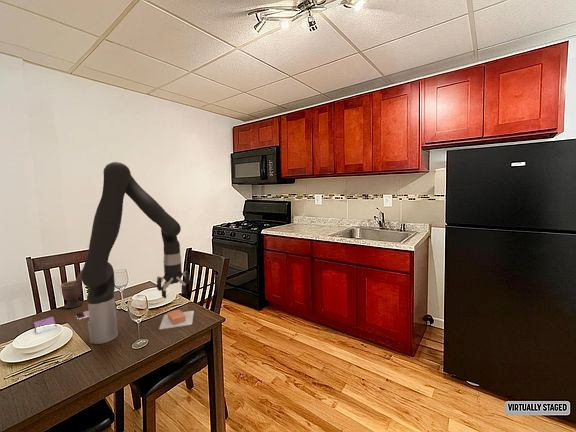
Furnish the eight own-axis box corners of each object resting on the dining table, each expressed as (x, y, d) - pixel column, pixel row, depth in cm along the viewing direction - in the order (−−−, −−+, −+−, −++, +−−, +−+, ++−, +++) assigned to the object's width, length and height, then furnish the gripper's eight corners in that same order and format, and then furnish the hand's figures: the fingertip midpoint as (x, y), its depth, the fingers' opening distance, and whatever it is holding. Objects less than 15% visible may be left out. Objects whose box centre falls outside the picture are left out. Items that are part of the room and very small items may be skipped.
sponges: (53, 319, 133) (53, 316, 133) (56, 328, 124) (56, 325, 124) (34, 325, 128) (33, 321, 128) (36, 335, 119) (35, 331, 119)
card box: (167, 312, 130) (173, 319, 123) (179, 309, 133) (185, 315, 126) (167, 318, 130) (173, 325, 123) (179, 314, 133) (185, 321, 126)
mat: (158, 329, 120) (158, 329, 120) (164, 315, 133) (164, 314, 133) (191, 324, 124) (191, 324, 124) (194, 311, 137) (194, 310, 137)
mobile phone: (74, 313, 136) (109, 304, 147) (75, 315, 136) (109, 305, 147) (77, 318, 131) (113, 308, 142) (77, 320, 131) (113, 309, 142)
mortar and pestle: (88, 299, 155) (84, 266, 153) (92, 303, 149) (87, 269, 147) (62, 306, 146) (58, 271, 144) (65, 311, 141) (60, 274, 138)
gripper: (158, 267, 119) (160, 302, 121) (190, 261, 128) (191, 293, 130) (154, 263, 125) (155, 297, 126) (184, 258, 134) (186, 289, 136)
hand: (174, 295), depth 128 cm, fingers open, 8 cm apart
